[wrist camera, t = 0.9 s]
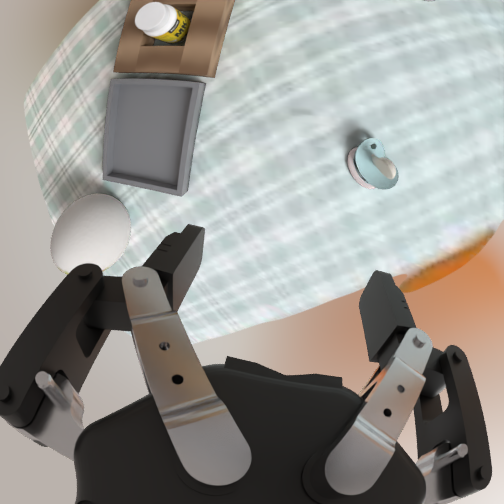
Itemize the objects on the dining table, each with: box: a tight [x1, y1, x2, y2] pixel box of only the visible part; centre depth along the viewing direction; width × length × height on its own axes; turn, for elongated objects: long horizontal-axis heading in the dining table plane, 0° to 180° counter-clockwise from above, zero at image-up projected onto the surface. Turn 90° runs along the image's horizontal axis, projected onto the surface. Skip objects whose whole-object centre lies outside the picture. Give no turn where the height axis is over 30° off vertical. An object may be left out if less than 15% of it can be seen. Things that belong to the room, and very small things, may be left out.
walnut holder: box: [113, 0, 235, 78], centre depth 25 cm, size 14×14×4 cm
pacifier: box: [347, 138, 398, 189], centre depth 30 cm, size 7×6×6 cm
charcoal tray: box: [103, 79, 206, 197], centre depth 34 cm, size 16×14×2 cm
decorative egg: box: [51, 193, 131, 275], centre depth 37 cm, size 12×12×15 cm
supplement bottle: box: [135, 2, 191, 44], centre depth 23 cm, size 5×5×8 cm
